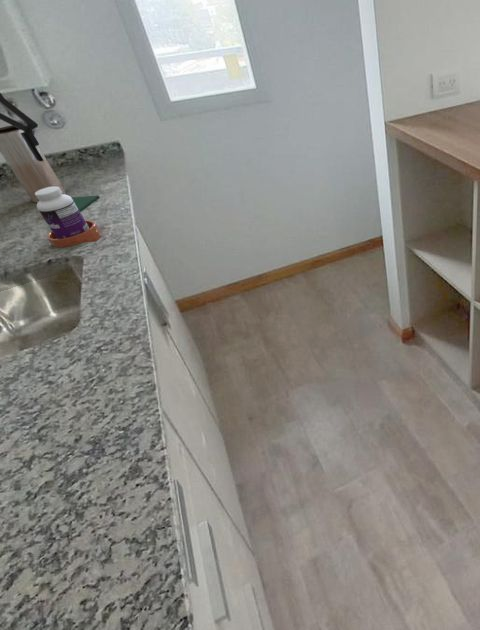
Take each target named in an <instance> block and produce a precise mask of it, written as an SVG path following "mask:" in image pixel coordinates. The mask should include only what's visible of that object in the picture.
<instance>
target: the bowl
mask: <svg viewBox="0 0 480 630" xmlns="http://www.w3.org/2000/svg"><path fill="white" fill-rule="evenodd" d="M84 220H85V221H86V223H87V225H88V226H89V228H90V229H88V230H87V231H85V232H83V233H81V234H78V235H76V236H72V237H68V238H63V239H57V238H56V236H55V235H54V233H53V232H52V230H51V231H49V232H48V234H47V235H46V238H47V240H48V242H49V244H50V245H51V246H52V247H55V248H66V247H73V246H76V245H79V244H83V243H94V242H95V243H96V242H97V241H98V240H100V238H102V232H101V231H100V229H99V227H98V226H97V224H96V222H95V221H94V220H90V219H84Z"/></svg>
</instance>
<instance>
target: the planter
mask: <svg viewBox="0 0 480 630" xmlns="http://www.w3.org/2000/svg"><path fill="white" fill-rule="evenodd" d="M23 132H24V131H23V130H21V129H19V128H17V127H15V126H13V125H6V126H2V127H0V154H1V156H2V157H3V158H4V160H5V162H6V163H7V165H8V166H9V168H10V169H11V171H12V172H13V174H14V175H15V177H16V178H17V180H18V181H19V183H20V184H21V186H22V187H23V189H24V191H25V192H26V194H27V195H28V196H29V198H30V199H31V201H32V202H33V203H36V204H37V203H38V202H39V201H40V200H39V199H38V198H37V197H36V195H35V192H37V191H39V190H41V189H44V188H48V187H54V186H56V187H59V188H60V189H61V191H62V194H65V195H67V192H66V189H65V188H64V186H63V184H62V183H61V181H60V179H59V178H58V176H57V174H56V173H55V171H54V169H53V168H52V165H51V164H50V162H49V160H48V159H47V158H46V156H45V153H44V152H43V150H41V147H40V146H39V145H38V146H35V147H36V148H37V150H38V152H39V153H40V155H41V157H42V158H43V160H44V161H41V162H40V161H38V160H37V159H36V158H35V156H34V154H33V153H32V151H31V150H30V148H29V146H28V145H27V143H26V142H25V140H24V138H23V137H22V135H21V133H23Z"/></svg>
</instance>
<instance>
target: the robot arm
mask: <svg viewBox="0 0 480 630" xmlns="http://www.w3.org/2000/svg"><path fill="white" fill-rule="evenodd" d="M0 105H2V106H3V107H4V108H5V109H7V110H8V111H10V112H11V113H12V114H13V115H14V116H16V117H17V118H19V119H20V120H21V121H22V122H24V123H25V124H23V123H22V122H19V121H17V120H15V119H13V118H11V117H9V116H7V115H5V114H3V113H1V112H0V120H1V121H3V122H5V123H7V124H9V125H10V126H12V125H13V126H15V127H17V128H19V129H21V130H23V131H24V132H23V133H21V135H22V137H23V138H24V140H25V142H26V143H27V145H28V146H29V148H30V150H31V151H32V153H33V154H34V156H35V158H36V159H37V160H38V161H40V162H41V161H44V160H43V158H42V157H41V155H40V153H39V152H38V150H37V148H36V147H35V146H39V145H40V143H39V141H38V139H37V137H36V136H35V134H34V133H33V131H34V130H35V129H36V128H38V127H39V125H38V123H37V122H36V121H35V120H33V119H32V118H31V117H29V116H28V115H27V114H26V113H24V112H23V111H22V110H20V109H19V108H18V107H16V106H15V105H14V104H12V102H10V101H8V100H7V99H6V98H5V97H4V95H3V94H2V93H1V92H0Z"/></svg>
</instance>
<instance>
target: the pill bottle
mask: <svg viewBox="0 0 480 630" xmlns="http://www.w3.org/2000/svg"><path fill="white" fill-rule="evenodd" d="M35 195H36V197H37V198H38V199H39V200H40V201H39V202H38V203H36V209H37V210H38V212H39V214H40V215H41V216H42V219H44V222H45V223H46V224H47V225H48V227H49V229H50V230H51V231H52V232H53V233H54V235H55V236H56V238H57V239H63V238H68V237H72V236H76V235H78V234H81V233H83V232H85V231H87V230H88V229H90V228H89V226H88V225H87V223H86V221H85V220H86V219H85V218H84V217H83V215H82V212H80V211H79V210H78V208H77V206H76V204H75V203H74V201H73V199H72V197H71V196H70V195H68V194H62V191H61V189H60V188H59V187H56V186H54V187H48V188H44V189H41V190H39V191H37V192H35Z"/></svg>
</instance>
